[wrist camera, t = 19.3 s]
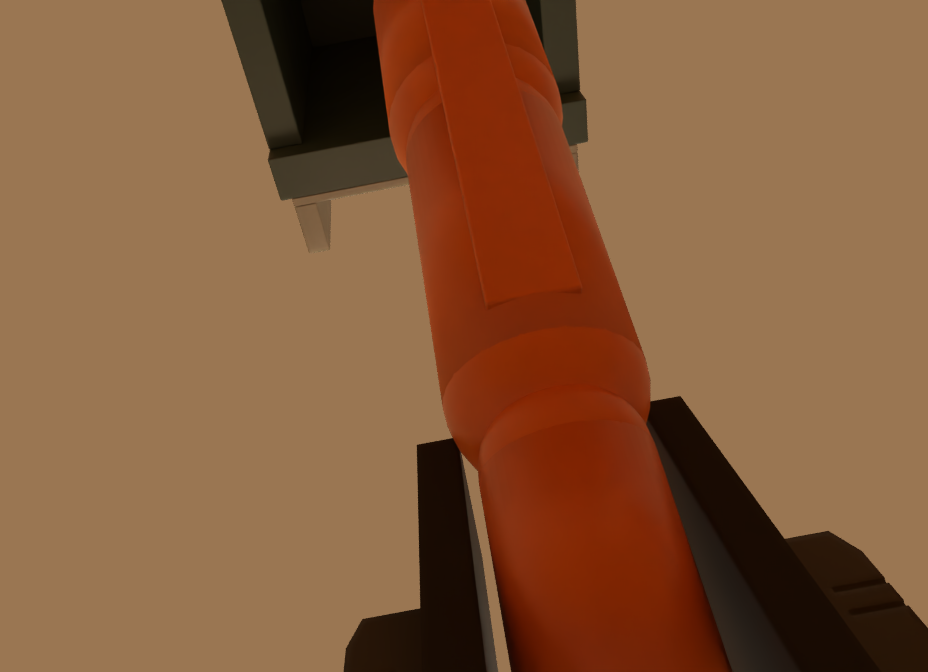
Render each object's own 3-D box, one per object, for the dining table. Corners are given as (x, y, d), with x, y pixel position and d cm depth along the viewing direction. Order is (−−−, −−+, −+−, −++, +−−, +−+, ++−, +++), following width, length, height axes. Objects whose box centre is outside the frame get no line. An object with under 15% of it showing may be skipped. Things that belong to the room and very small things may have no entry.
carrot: (484, 953, 7) (512, 935, 11) (910, 875, 7) (783, 885, 12) (349, -129, 23) (381, 30, 27) (487, -154, 23) (498, 9, 27)
